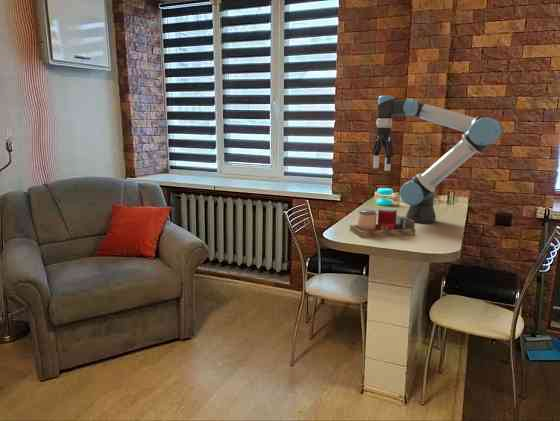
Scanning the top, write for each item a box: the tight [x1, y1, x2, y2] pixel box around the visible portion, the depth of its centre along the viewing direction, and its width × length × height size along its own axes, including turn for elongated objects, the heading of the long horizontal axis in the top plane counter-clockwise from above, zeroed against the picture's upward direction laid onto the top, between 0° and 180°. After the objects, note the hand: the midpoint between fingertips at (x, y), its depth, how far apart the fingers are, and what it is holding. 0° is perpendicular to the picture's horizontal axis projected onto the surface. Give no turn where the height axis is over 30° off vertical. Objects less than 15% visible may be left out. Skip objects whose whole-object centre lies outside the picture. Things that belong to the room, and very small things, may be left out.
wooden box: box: [349, 216, 416, 238], centre depth 196 cm, size 26×12×7 cm, turn 102°
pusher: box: [395, 214, 407, 230], centre depth 198 cm, size 4×10×7 cm, turn 12°
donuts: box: [376, 187, 394, 207], centre depth 274 cm, size 10×10×10 cm
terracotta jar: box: [357, 208, 378, 231], centre depth 194 cm, size 8×8×10 cm
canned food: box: [377, 206, 398, 230], centre depth 196 cm, size 8×8×11 cm
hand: (381, 169), depth 223 cm, fingers open, 13 cm apart
